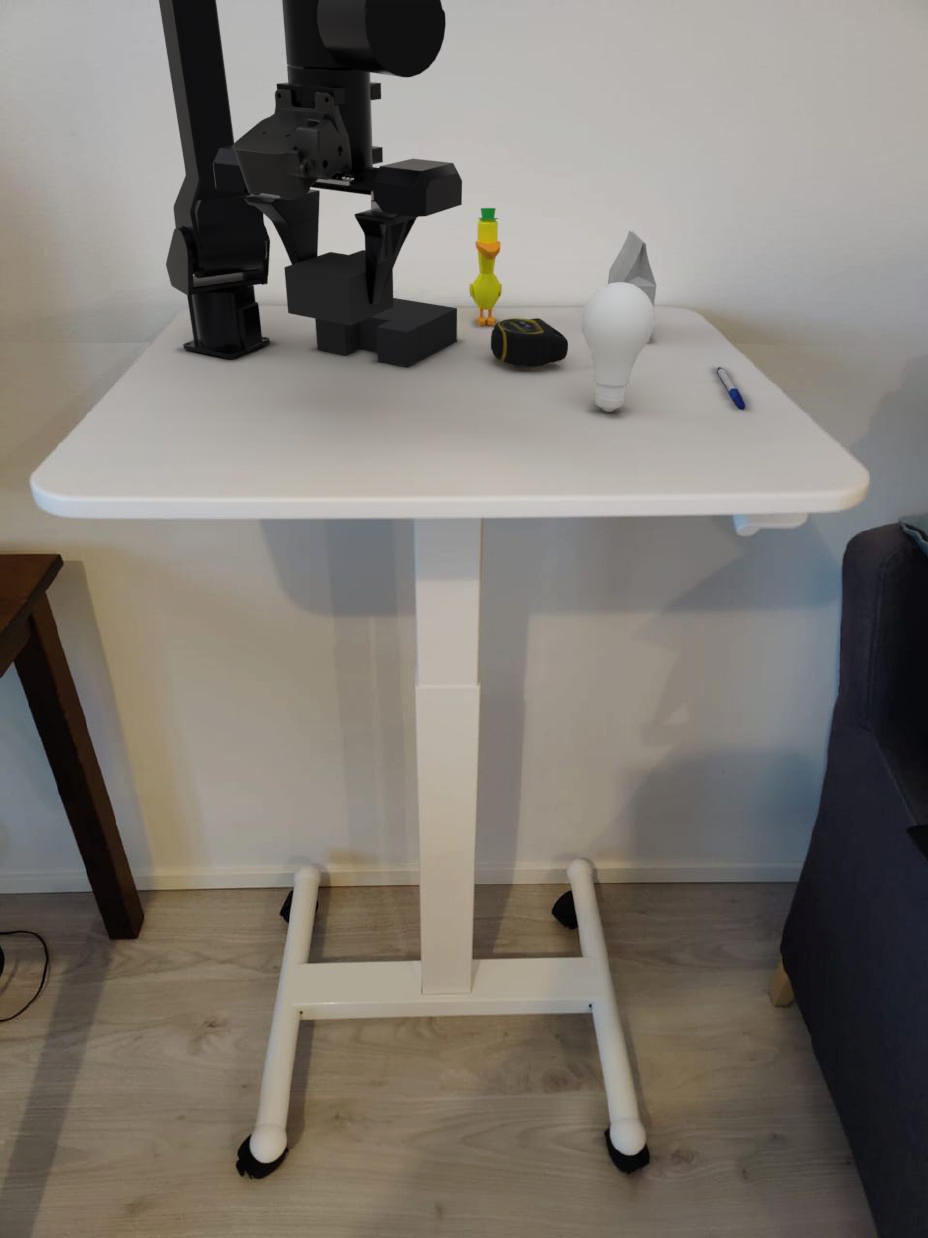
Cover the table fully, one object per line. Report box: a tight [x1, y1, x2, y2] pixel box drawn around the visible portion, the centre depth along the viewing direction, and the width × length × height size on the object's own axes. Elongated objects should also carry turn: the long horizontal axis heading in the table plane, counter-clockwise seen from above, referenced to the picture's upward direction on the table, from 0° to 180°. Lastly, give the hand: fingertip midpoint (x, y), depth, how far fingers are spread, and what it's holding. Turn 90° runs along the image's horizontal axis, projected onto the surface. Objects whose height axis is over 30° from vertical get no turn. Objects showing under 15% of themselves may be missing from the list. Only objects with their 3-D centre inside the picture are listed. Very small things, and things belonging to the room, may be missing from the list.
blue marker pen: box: [717, 366, 746, 411], centre depth 87 cm, size 10×1×1 cm, turn 0°
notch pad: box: [314, 297, 458, 368], centre depth 96 cm, size 11×10×4 cm
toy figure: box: [468, 207, 503, 327], centre depth 101 cm, size 7×4×12 cm, turn 5°
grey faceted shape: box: [607, 230, 657, 344], centre depth 99 cm, size 4×7×10 cm, turn 3°
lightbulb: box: [580, 282, 656, 413], centre depth 79 cm, size 6×6×11 cm
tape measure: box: [490, 317, 569, 368], centre depth 92 cm, size 7×7×4 cm
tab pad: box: [284, 249, 394, 326], centre depth 73 cm, size 6×8×4 cm
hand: (340, 296), depth 73 cm, fingers closed on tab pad, 6 cm apart
